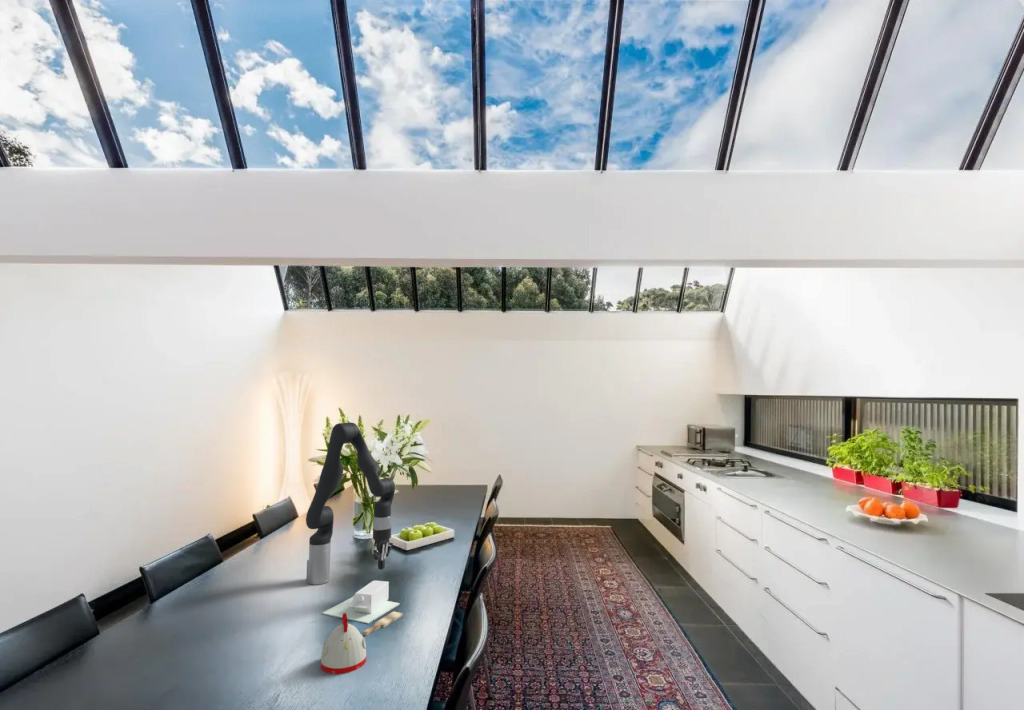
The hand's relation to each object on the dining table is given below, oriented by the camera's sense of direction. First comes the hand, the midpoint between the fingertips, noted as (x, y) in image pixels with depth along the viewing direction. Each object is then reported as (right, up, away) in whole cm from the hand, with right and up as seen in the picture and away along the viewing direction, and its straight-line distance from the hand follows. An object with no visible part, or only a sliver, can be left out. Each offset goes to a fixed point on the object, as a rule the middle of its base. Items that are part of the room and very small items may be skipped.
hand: (381, 568), depth 223 cm
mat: (-5, -11, -12) cm, 17 cm away
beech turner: (+7, -10, -25) cm, 28 cm away
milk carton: (0, -8, -1) cm, 8 cm away
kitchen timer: (+1, -9, -53) cm, 54 cm away
